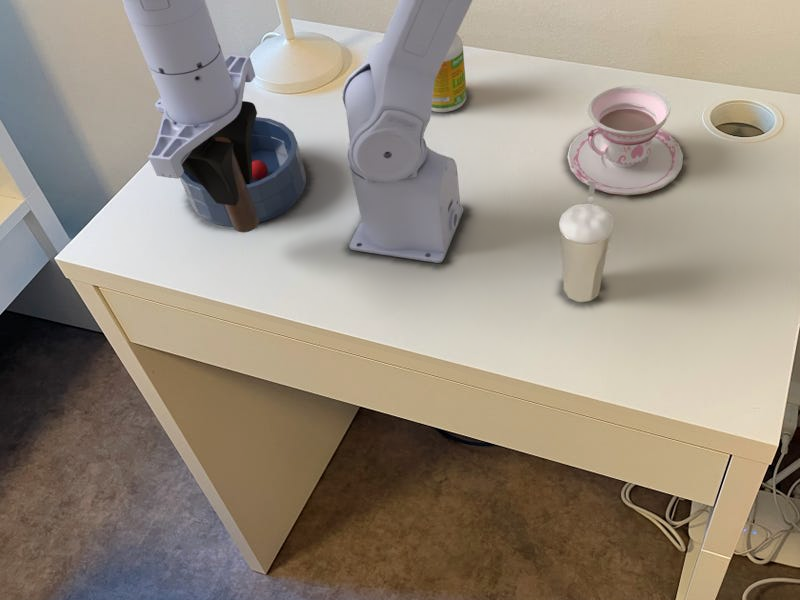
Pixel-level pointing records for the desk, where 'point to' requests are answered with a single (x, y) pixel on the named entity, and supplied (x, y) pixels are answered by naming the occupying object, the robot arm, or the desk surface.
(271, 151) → the bowl
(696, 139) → the desk surface
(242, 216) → the stirring stick
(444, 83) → the supplement bottle
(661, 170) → the teacup
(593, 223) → the milkshake
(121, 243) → the desk surface
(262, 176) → the berry
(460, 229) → the desk surface
